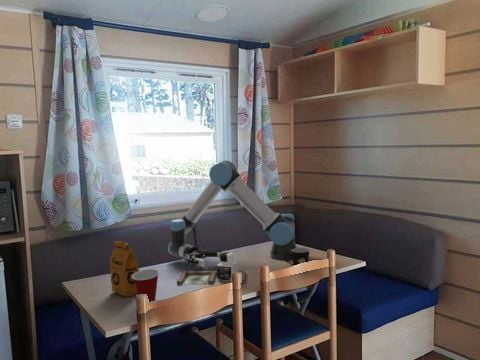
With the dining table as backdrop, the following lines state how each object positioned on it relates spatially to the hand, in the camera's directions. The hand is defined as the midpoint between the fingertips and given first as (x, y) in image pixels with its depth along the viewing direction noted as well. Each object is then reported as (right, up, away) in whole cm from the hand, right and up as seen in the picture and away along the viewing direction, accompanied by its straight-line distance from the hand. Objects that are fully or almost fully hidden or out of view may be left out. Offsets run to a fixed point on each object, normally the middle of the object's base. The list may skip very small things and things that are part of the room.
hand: (215, 260), depth 197 cm
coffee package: (-37, -11, -19) cm, 43 cm away
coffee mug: (+39, -6, +3) cm, 40 cm away
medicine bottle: (+6, -8, -5) cm, 11 cm away
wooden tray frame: (-1, -8, -5) cm, 9 cm away
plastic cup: (-25, -11, -30) cm, 41 cm away
